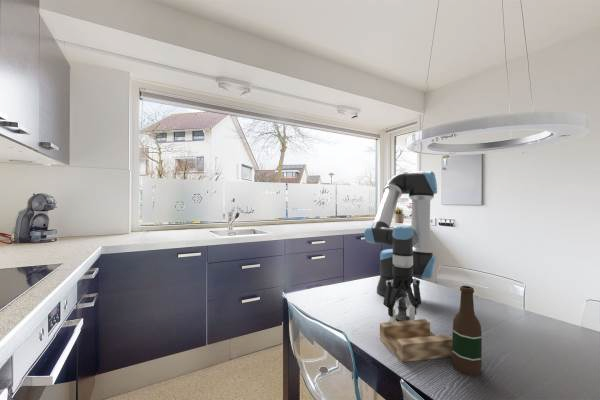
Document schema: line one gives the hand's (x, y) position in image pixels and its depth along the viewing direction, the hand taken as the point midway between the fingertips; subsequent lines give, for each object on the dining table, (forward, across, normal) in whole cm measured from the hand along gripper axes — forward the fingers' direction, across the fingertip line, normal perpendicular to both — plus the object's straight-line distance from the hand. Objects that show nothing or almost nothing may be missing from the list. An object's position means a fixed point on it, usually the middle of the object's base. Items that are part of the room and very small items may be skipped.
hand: (402, 323), depth 104 cm
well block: (+1, +4, +14) cm, 15 cm away
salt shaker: (+1, 0, 0) cm, 1 cm away
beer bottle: (+1, -4, +27) cm, 27 cm away
